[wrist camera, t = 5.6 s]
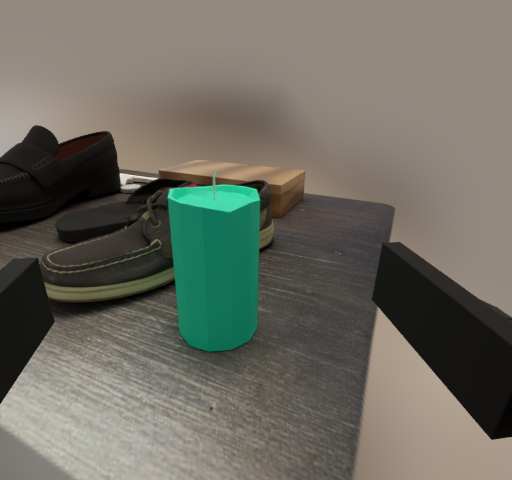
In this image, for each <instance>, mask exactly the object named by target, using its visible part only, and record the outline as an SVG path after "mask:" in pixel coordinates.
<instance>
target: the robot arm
mask: <svg viewBox="0 0 512 480" xmlns="http://www.w3.org/2000/svg"><path fill="white" fill-rule="evenodd" d="M372 300H373V301H374V302H375V304H376V305H377V306H378V307H379V308H380V309H381V311H382V312H383V313H384V314H385V315H386V317H388V319H389V320H390V321H391V322H392V324H393V325H394V326H395V327H396V328H397V329H398V331H399V332H400V333H401V334H402V335H403V336H404V338H405V339H406V340H407V341H408V342H409V344H410V345H411V346H412V347H413V348H414V349H415V351H416V352H417V353H418V354H419V355H420V356H421V358H422V359H423V360H424V361H425V362H426V363H427V365H428V366H429V367H430V368H431V369H432V370H433V372H434V373H435V374H436V375H437V376H438V378H439V379H440V380H441V381H442V382H443V383H444V385H445V386H446V387H447V388H448V389H449V390H450V392H451V393H452V394H453V395H454V396H455V397H456V399H457V400H458V401H459V402H460V403H461V404H462V406H463V407H464V408H465V409H466V410H467V411H468V413H469V414H470V415H471V416H472V417H473V419H474V420H475V421H476V422H477V423H478V424H479V426H480V427H481V428H482V429H483V430H484V432H485V433H486V434H487V435H488V436H489V437H490V439H492V440H493V439H500V438H506V437H512V318H511V317H510V316H508V315H507V314H506V313H504V312H503V311H501V310H500V309H498V308H497V307H495V306H492V305H491V304H488V303H486V302H484V301H482V300H480V299H478V298H477V297H475V296H474V295H473V294H471V293H470V292H468V291H467V290H466V289H464V288H463V287H461V286H460V285H459V284H457V283H456V282H454V281H453V280H452V279H450V278H449V277H448V276H446V275H445V274H443V273H442V272H441V271H439V270H438V269H436V268H435V267H434V266H432V265H431V264H429V263H428V262H427V261H425V260H424V259H423V258H421V257H420V256H418V255H417V254H416V253H414V252H413V251H411V250H410V249H409V248H407V247H406V246H404V245H403V244H402V243H400V242H394V243H383V244H382V249H381V255H380V260H379V265H378V270H377V276H376V281H375V286H374V292H373V297H372ZM54 322H55V321H54V318H53V314H52V310H51V306H50V302H49V299H48V295H47V291H46V287H45V283H44V280H43V276H42V272H41V268H40V265H39V261H38V258H19V259H13V260H12V261H11V262H10V263H8V264H7V265H6V266H5V267H4V268H2V269H1V270H0V404H1V402H2V401H3V399H4V398H5V396H6V395H7V393H8V392H9V390H10V389H11V387H12V386H13V384H14V382H15V381H16V379H17V378H18V376H19V375H20V373H21V372H22V370H23V369H24V367H25V366H26V364H27V363H28V361H29V360H30V358H31V357H32V355H33V354H34V352H35V351H36V349H37V348H38V346H39V345H40V343H41V342H42V340H43V339H44V337H45V336H46V334H47V333H48V331H49V329H50V328H51V326H52V325H53V323H54Z"/></svg>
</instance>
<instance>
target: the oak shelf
mask: <svg viewBox="0 0 512 480" xmlns="http://www.w3.org/2000/svg"><path fill="white" fill-rule="evenodd" d="M213 170H215V185H224V184H225V185H236V184H240V183H244V182H249V181H254V180H264V181H266V182H267V183H268V184H269V186H270V189H271V204H272V217H277V218H280V217H281V216H283V215H284V214H285V213H286V212H287V211H289V210H290V209H291V208H292V207H293V206H295V205H296V204H297V203H298V202H299V201H301V200H302V199H303V194H304V179H305V171H304V170H293V169H284V168H274V167H265V166H255V165H245V164H235V163H225V162H216V161H206V160H195V161H192V162H188V163H184V164H180V165H176V166H172V167H169V168H165V169H161V170H159V179H161V178H166V179H167V178H168V179H175V180H187V181H189V180H191V181H192V182H193V183H194V184H195V185H197V186H198V187H204V186H209V185H210V186H213ZM171 188H176V187H165V188H162V189H160V190H161V191H162V192H164V191H165V190H168V189H171Z"/></svg>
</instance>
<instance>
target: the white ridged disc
mask: <svg viewBox="0 0 512 480" xmlns="http://www.w3.org/2000/svg"><path fill="white" fill-rule="evenodd" d="M140 187H142V186H141V185H137V184H129V185H123V186H121V189H120V192H124V193H132V192H134V191H136V190H137V189H139V188H140Z"/></svg>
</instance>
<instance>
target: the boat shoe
mask: <svg viewBox="0 0 512 480" xmlns="http://www.w3.org/2000/svg"><path fill="white" fill-rule="evenodd" d="M236 186H245V187H249V188H254V189H257V191H258V195H259V198H260V228H259V250H260V249H262V248H264V247H266V246H268V245H269V244H270V243H271V242H272V241H273V239H274V224H273V220H272V204H271V189H270V186H269V184H268V183H267V182H266V181H264V180H254V181H249V182H244V183H240V184H236ZM171 189H172V188H171ZM169 190H170V189H168V190H165V191H164V192H162V191H158V192H156V194H155V196H154V198H152V197H149V198H148V199H147V205H146V206H142V207H140V208H139V209H138V211H137V214H136V215H134V216H132V217H131V218H129V219H128V220H127V222H126V224H127V225H126V227H125V228H123V229H120V230H118V231H116V232H114V233H111V234H107V235H104V236H99V237H96V238H92V239H89V240H86V241H82V242H79V243H76V244H73V245H69V246H66V247H63V248H60V249H57V250H54V251H52V252H49V253H46V254H44V255H43V256H42V261H41V264H40V268H41V272H42V276H43V280H44V283H45V287H46V291H47V295H48V298H49V299H52V300H55V301H61V302H96V301H105V300H112V299H117V298H123V297H127V296H131V295H134V294H139V293H143V292H146V291H150V290H153V289H156V288H158V287H159V286H163V285H166V284H168V283H170V282H172V281H174V280H175V274H174V263H173V252H172V241H171V230H170V219H169V208H168V194H169Z"/></svg>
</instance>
